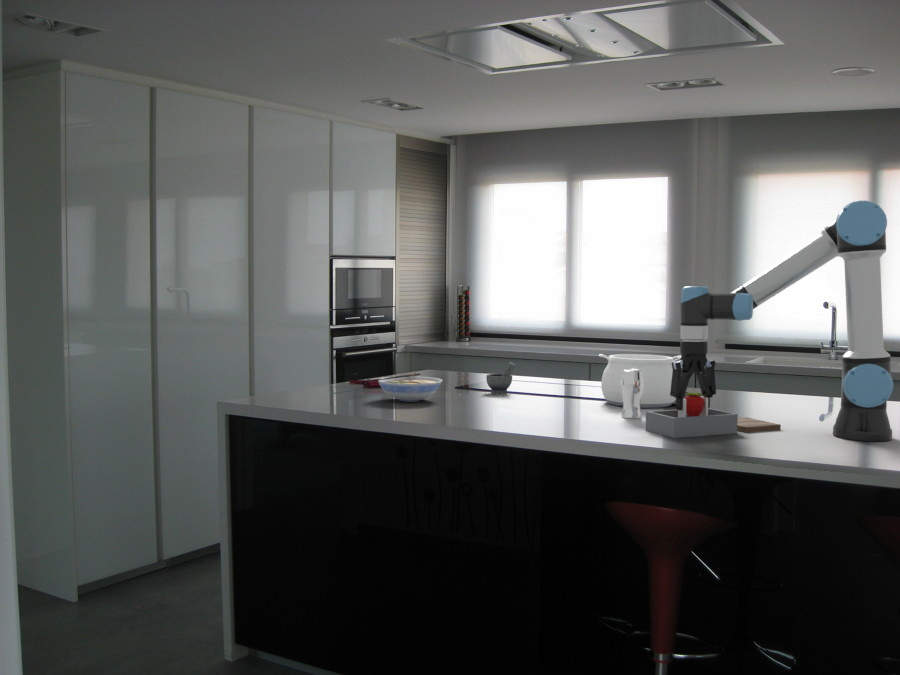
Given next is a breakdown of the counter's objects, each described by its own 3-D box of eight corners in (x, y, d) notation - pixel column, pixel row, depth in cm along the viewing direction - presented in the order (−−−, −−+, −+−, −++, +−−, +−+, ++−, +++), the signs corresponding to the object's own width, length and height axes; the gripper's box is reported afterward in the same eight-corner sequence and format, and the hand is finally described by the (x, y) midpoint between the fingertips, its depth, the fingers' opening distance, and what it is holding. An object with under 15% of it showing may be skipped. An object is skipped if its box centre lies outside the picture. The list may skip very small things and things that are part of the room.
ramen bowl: (412, 407, 294) (412, 383, 293) (361, 401, 307) (361, 377, 307) (457, 400, 313) (457, 377, 313) (407, 394, 327) (408, 372, 327)
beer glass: (626, 419, 275) (627, 371, 274) (616, 415, 281) (617, 369, 280) (646, 418, 277) (647, 370, 276) (636, 415, 283) (637, 368, 282)
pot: (675, 399, 321) (677, 352, 319) (688, 410, 294) (689, 359, 293) (594, 397, 324) (596, 350, 322) (599, 408, 297) (601, 357, 296)
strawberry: (678, 422, 252) (679, 387, 251) (686, 419, 258) (687, 384, 258) (699, 424, 249) (700, 388, 248) (707, 420, 255) (707, 386, 254)
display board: (780, 429, 259) (780, 424, 259) (745, 432, 254) (745, 427, 254) (746, 422, 272) (747, 417, 272) (712, 424, 267) (713, 419, 267)
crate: (737, 433, 252) (737, 414, 252) (673, 438, 244) (674, 418, 243) (706, 426, 264) (707, 407, 264) (645, 430, 255) (646, 411, 255)
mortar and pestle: (481, 393, 331) (482, 361, 330) (492, 391, 339) (492, 359, 338) (509, 396, 326) (510, 363, 325) (519, 393, 334) (519, 361, 333)
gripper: (713, 338, 259) (712, 416, 261) (656, 340, 251) (656, 420, 253) (730, 340, 252) (729, 420, 254) (673, 342, 245) (672, 424, 246)
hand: (692, 420), depth 253 cm, fingers closed on strawberry, 7 cm apart
